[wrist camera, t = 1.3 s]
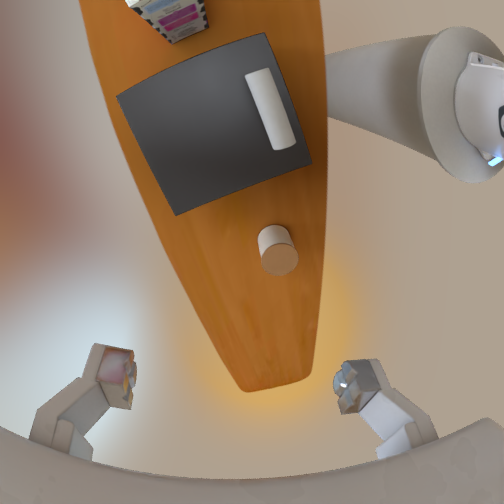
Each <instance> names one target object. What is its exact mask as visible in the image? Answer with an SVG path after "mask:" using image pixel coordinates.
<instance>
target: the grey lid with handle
mask: <svg viewBox="0 0 504 504" xmlns="http://www.w3.org/2000/svg"><path fill="white" fill-rule="evenodd" d="M116 98H117V100H118V102H119V104H120V107H121V109H122V111H123V113H124V115H125V117H126V119H127V121H128V124H129V126H130V128H131V130H132V132H133V134H134V136H135V138H136V140H137V142H138V144H139V146H140V148H141V150H142V152H143V154H144V156H145V158H146V160H147V162H148V164H149V166H150V168H151V170H152V172H153V174H154V176H155V178H156V180H157V182H158V184H159V186H160V188H161V190H162V191H163V193H164V195H165V197H166V199H167V201H168V203H169V205H170V207H171V208H172V210H173V212H174V214H175V216H177V215H180V214H182V213H184V212H187V211H189V210H191V209H194V208H196V207H199V206H201V205H203V204H206V203H208V202H211V201H213V200H216V199H218V198H221V197H223V196H226V195H228V194H231V193H233V192H236V191H238V190H241V189H244V188H246V187H249V186H251V185H254V184H257V183H259V182H262V181H265V180H268V179H270V178H273V177H276V176H278V175H281V174H284V173H287V172H290V171H293V170H295V169H298V168H301V167H304V166H307V165H310V164H312V160H311V157H310V154H309V151H308V148H307V144H306V141H305V138H304V135H303V132H302V129H301V126H300V123H299V120H298V117H297V114H296V112H295V109H294V106H293V103H292V100H291V98H290V95H289V92H288V89H287V87H286V84H285V81H284V79H283V76H282V74H281V71H280V68H279V66H278V63H277V61H276V58H275V56H274V54H273V51H272V49H271V46H270V44H269V42H268V39H267V37H266V35H265V33H264V32H263V33H260V34H256V35H253V36H250V37H246V38H243V39H240V40H237V41H234V42H231V43H228V44H225V45H223V46H220V47H217V48H215V49H212V50H209V51H207V52H204V53H202V54H199V55H197V56H194V57H192V58H190V59H187V60H185V61H183V62H180V63H178V64H176V65H174V66H172V67H170V68H167V69H165V70H163V71H161V72H159V73H157V74H155V75H153V76H151V77H149V78H147V79H145V80H144V81H142V82H140V83H138V84H136V85H134V86H133V87H131V88H129V89H127V90H125V91H124V92H122V93H120V94H119V95H117V96H116Z"/></svg>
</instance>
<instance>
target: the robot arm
mask: <svg viewBox="0 0 504 504" xmlns="http://www.w3.org/2000/svg"><path fill="white" fill-rule="evenodd" d="M454 110H455V116H456V120H457V123H458V126H459V129H460V131H461V133H462V135H463V136H464V138H465V139H466V140H467V141H468V142H469V143H470V144H471V145H473V146H474V147H476V148H477V150H478V152H479V154H480V155H481V157H482V158H483V159H486V160H490V159H491V158H492V157H494V156H495V157H496V158H495V159H493V160H492V161H490V162H489V165H491V166H494V165H495V164H497V163H498V162H500V161H502V160H504V62H502V61H499V60H497V59H494V58H491V57H488V56H485V55H482V54H479V53H476V52H472V51H470V52H468V54H467V58H466V64H465V67H464V69H463V70H462V71H461V73H460V75H459V76H458V79H457V81H456V85H455V90H454ZM133 360H134V352H133V350H129V349H123V348H117V347H112V346H108V345H103V344H98V343H94V345H93V346H92V348H91V351H90V354H89V357H88V360H87V362H86V365H85V368H84V372H83V374H82V378H80V377H78V378H76V379H75V380H74V381H73V382H71V383H70V384H69V385H67V386H66V387H65V388H64V389H63V390H61V391H60V392H59V393H57V394H56V395H55V396H54V397H53V398H51V399H50V400H49V401H48V402H46V403H45V404H44V405H42V406H41V407H40V408H39V409H37V413H36V415H35V419H34V422H33V426H32V429H31V432H30V436H29V439H26V438H24V437H22V436H20V435H17V434H15V433H13V432H11V431H9V430H7V429H5V428H3V427H1V426H0V504H504V428H503V427H501V426H500V425H499V424H498V423H496V422H495V421H494V420H492V419H490V418H483V419H480V420H478V421H477V422H474V423H473V424H471V425H469V426H466V427H464V428H462V429H460V430H458V431H456V432H454V433H451V434H449V435H447V436H444V437H442V438H440V439H439V438H438V436H437V433H436V430H435V428H434V426H433V423H432V421H431V419H430V417H429V415H427V414H426V413H425V412H423V411H422V410H421V409H420V408H418V407H417V406H416V405H415V404H414V403H412V402H411V401H410V400H409V399H407V398H406V397H405V396H404V395H402V394H401V393H400V392H399V391H397V390H396V389H395V388H391V386H390V383H389V382H388V379H387V377H386V374H385V372H384V370H383V368H382V366H381V363H380V361H379V360H378V359H367V360H366V359H362V360H350V361H345V362H344V363H343V364H342V365H341V367H342V369H341V370H340V371H338V372H337V373H336V375H335V376H334V380H333V388H334V391H335V394H337V395H338V396H339V399H338V405H339V408H340V412H341V414H351V413H358V414H359V415H360V416H361V417H362V418H363V419H364V420H365V421H366V422H367V423H368V425H369V426H370V427H371V428H372V429H373V430H374V431H375V432H376V433H377V434H378V435H379V436H380V437H381V438H382V439H383V440H384V442H382V443H381V444H380V445H379V446H377V448H376V453H377V456H378V460H375V461H371V462H367V463H363V464H359V465H355V466H350V467H346V468H340V469H336V470H330V471H325V472H318V473H311V474H304V475H297V476H287V477H277V478H261V479H202V478H187V477H176V476H167V475H159V474H152V473H145V472H139V471H134V470H128V469H123V468H118V467H113V466H109V465H105V464H101V463H97V462H93V461H92V454H93V448H92V446H91V445H90V444H89V443H88V441H87V440H86V439H85V438H84V437H83V436H84V435H85V434H86V433H87V432H88V431H89V430H90V429H91V428H92V426H93V425H94V424H95V423H96V422H97V421H98V420H99V419H100V418H101V417H102V416H103V415H104V413H105V412H106V411H107V410H108V409H109V408H110V407H116V408H122V409H128V410H131V406H132V400H133V393H132V388H133V387H134V386H135V383H136V376H137V367H136V363H135V362H134V361H133ZM109 406H110V407H109Z"/></svg>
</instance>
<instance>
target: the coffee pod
mask: <svg viewBox="0 0 504 504" xmlns="http://www.w3.org/2000/svg"><path fill="white" fill-rule="evenodd" d="M258 245H259V250H260V255H261V263H262V267H263V269H264V270H265V271H266V272H267V273H269V274H271V275H275V276H281V275H285V274H288V273H290V272H291V271H292V270H293V269H294V268H295V267H296V266H297V264H298V260H299V256H298V253H297V250H296V249H295V247H294V245H293V242H292V240H291V238H290V235H289V233H288V231H287V230H286V229H285V228H284V227H282V226H279V225H270V226H268V227H266V228H264V229H263V230H262V231H261V232H260V234H259V236H258Z"/></svg>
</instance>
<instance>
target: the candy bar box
mask: <svg viewBox="0 0 504 504" xmlns="http://www.w3.org/2000/svg"><path fill="white" fill-rule="evenodd" d="M125 1H126V3H127V4H128V6H129V7H130V8H132V9H133V10H134V11H135V12H137V13H138V14H139V15H140V16H141V17H142V18H143V19H145V20H146V21H147V22H148V23H149V24H150V25H151V26H152V27H153V28H155V29H156V30H157V31H158V32H159V33H160V34H161V35H162V36H164V37H165V38H166V39H167V40H168V41H169V42H170V43H171V44H174V43H176V42H178V41H180V40H182V39H184V38H186V37H188V36H190V35H192V34H194V33H197V32H199V31H202V30H204V29H206V28H208V27H209V25H208V21H207V16H206V11H205V7H204V0H125Z"/></svg>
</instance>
